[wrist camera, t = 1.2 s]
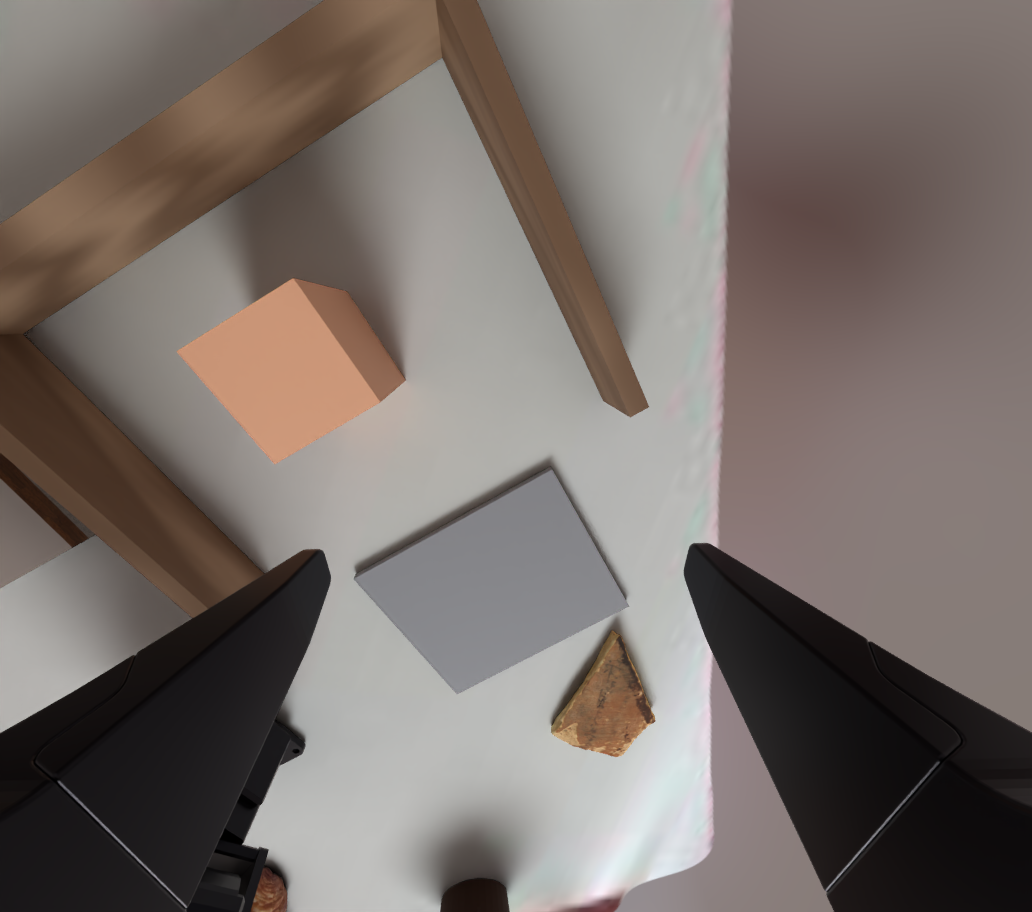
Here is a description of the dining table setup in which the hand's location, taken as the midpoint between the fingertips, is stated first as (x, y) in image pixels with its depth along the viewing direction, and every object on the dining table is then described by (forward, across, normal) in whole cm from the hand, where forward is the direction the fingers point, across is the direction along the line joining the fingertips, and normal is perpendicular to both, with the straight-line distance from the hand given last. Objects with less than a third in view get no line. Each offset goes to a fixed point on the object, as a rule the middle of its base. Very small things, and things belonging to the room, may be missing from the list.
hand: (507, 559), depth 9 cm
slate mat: (+12, +1, +13) cm, 17 cm away
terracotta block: (+13, +9, -2) cm, 16 cm away
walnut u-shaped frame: (+13, +9, -2) cm, 16 cm away
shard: (+12, -6, +24) cm, 27 cm away
